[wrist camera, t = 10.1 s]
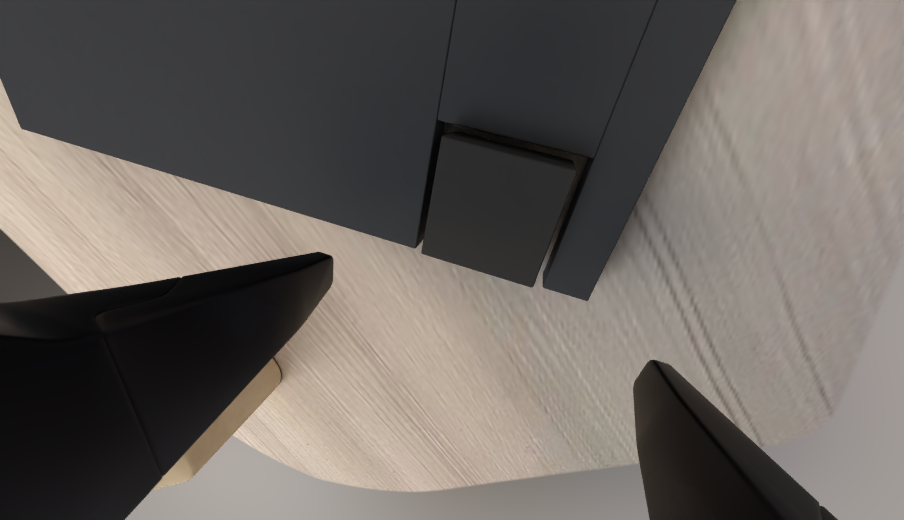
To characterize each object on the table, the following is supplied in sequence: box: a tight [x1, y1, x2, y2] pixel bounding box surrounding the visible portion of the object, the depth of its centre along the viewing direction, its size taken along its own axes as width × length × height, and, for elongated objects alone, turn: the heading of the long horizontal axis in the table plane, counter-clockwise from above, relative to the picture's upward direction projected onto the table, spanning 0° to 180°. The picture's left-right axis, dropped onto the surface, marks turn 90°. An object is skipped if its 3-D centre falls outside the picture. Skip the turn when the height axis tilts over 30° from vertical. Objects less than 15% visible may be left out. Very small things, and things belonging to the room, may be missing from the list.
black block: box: [422, 131, 577, 287], centre depth 16 cm, size 6×6×2 cm
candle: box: [151, 358, 281, 491], centre depth 25 cm, size 6×6×10 cm
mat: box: [0, 0, 736, 301], centre depth 15 cm, size 38×20×2 cm, turn 79°
